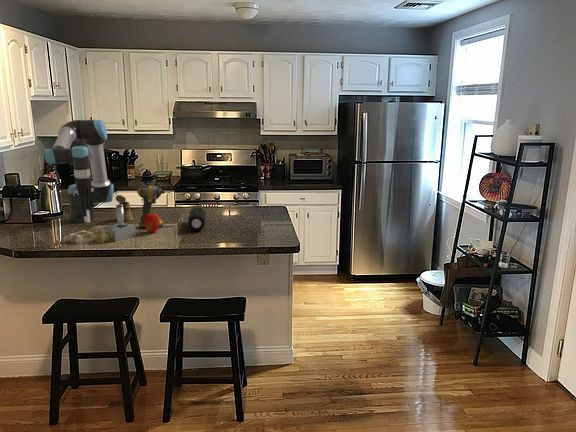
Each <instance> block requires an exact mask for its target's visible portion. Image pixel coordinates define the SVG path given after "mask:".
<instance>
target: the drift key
mask: <svg viewBox="0 0 576 432" xmlns="http://www.w3.org/2000/svg"><path fill="white" fill-rule="evenodd" d="M95 240H96V243H100V244H104V243H106V242H109V241H111V236H110V233H104V234H102V233H96V234H95Z"/></svg>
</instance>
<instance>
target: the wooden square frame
mask: <svg viewBox="0 0 576 432" xmlns="http://www.w3.org/2000/svg"><path fill="white" fill-rule="evenodd" d="M68 238H69V242H72V243H76V244H79V245H80V244H84V243H87V242H91V241H95V240H96V238H95V232H94V231H88V230H84V229H83V230H79V231H75V232H72V233H68Z"/></svg>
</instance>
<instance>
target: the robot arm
mask: <svg viewBox="0 0 576 432" xmlns="http://www.w3.org/2000/svg"><path fill="white" fill-rule="evenodd" d="M106 140H108V132H107V128H106V125H105V123H104V121H103V120H100V119H74V120H70V121H68V122H66V123H65V124H63V125H61V127H60V128H59V129H58V131H57V138H56V140H55V142H54V144H53V146H52V148H46V149H45V150H44V160H45V162H46V164H55V165H56V164H57V165H58V164H73V174H74V175H73V176H74V182H75V183H74V184H71V185H69V186H68V189H67V190H68V191H67V193H68V201H69V213H68V217H67V219H68V220H67V221H68V222H69V223H91V221H93V220H95V215H94V212H93V210H92V208H94V207H95V204H100V203H101V204H103V203H104V204H106V203H112V202H113V200H114V183H111V180H110V179H108V174H107V166H106V158H105V151H104V144H105V143H106ZM75 141H83V142H84V145H85V146H84V145H80V146H79V145H78V146H77V145H76V146H73V147H72V148H71V145H72V144H73V142H75Z"/></svg>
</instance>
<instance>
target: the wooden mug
mask: <svg viewBox="0 0 576 432" xmlns="http://www.w3.org/2000/svg"><path fill="white" fill-rule="evenodd" d="M115 200H116V202H117V203H119V204H122V205H123V210H124V222H130V221H133V215H132V210H131V204H130V202H128V201H127V199H126V197H125V196H123V195H119V194H118V195H116V196H115ZM119 204H118V205H119Z"/></svg>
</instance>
